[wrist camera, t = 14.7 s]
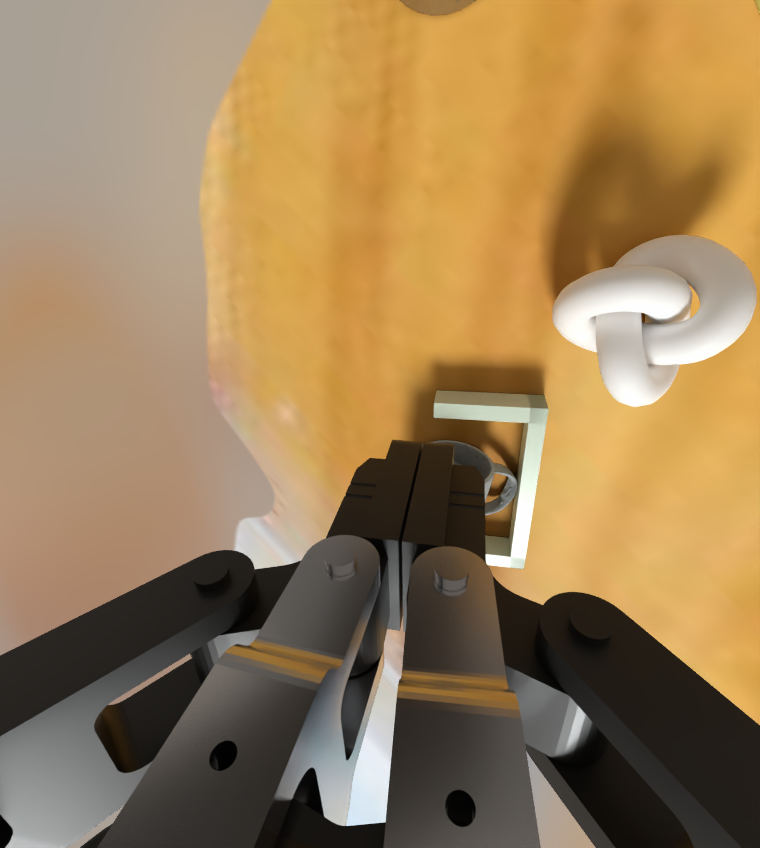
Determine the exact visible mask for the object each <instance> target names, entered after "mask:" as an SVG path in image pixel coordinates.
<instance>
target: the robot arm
mask: <svg viewBox="0 0 760 848" xmlns="http://www.w3.org/2000/svg"><path fill="white" fill-rule="evenodd" d="M401 1H402V2H403V3H404V4H405V5H406V6H407V7H409V8H411V9H413V10H415V11H417V12H418V13H422V14H427V15H431V16H436V15H448V14H451V13H454V12H457V11H459V10H462V9H463V8H465V7H467V6H468V5H470V4H471V3H473V2H475V1H476V0H401ZM453 464H454V444H445V443H430V442H424V445H423V443H422V442H417V441H402V440H392V442H391V445H390V448H389V451H388V454H387V456H386V459H376V458H370V459H368V460H367V461H366V462H365V463H363V464H362V465H361V466H360V467H358V468H357V469H356V472H355V474H354V476H353V478H352V481H351V485H349V487H348V490H347V492H346V496H344V499H343V501H342V503H341V505H340V508H339V510H338V512H337V514H336V517H335V519H334V521H333V523H332V526H331V528H330V530H329V532H328V535H327V537H326V539H323V540H321V541H319V542H318V543H316V544H315V545H313V546H312V547H311V548H310V549H309V550H308V551H307V553H306V554H305V556H304V557H303V559H302V560H301V561H299V562H296V563H293V564H289V565H284V566H277V567H270V568H262V569H254V566H253V563H252V561H251V559H250V558H249V557H248V556H246V555H245V554H243V553H240V552H237V551H232V550H223V551H216V552H211V553H208V554H205V555H203V556H200V557H198V558H196V559H194V560H192V561H190V562H188V563H186V564H184V565H182V566H180V567H178V568H176V569H174V570H172V571H170V572H168V573H166V574H164V575H161V576H160V577H158V578H155V579H153V580H152V581H150V582H148V583H145V584H144V585H141V586H139V587H137V588H136V589H133V590H131V591H129V592H127V593H125V594H123V595H121V596H119V597H117V598H115V599H113V600H111V601H110V602H107V603H105V604H103V605H101V606H99V607H97V608H95V609H93V610H91V611H89V612H87V613H85V614H83V615H81V616H79V617H77V618H75V619H73V620H71V621H69V622H67V623H65V624H63V625H61V626H59V627H57V628H55V629H53V630H51V631H49V632H47V633H45V634H43V635H41V636H39V637H37V638H35V639H33V640H31V641H29V642H27V643H25V644H23V645H21V646H19V647H17V648H15V649H13V650H11V651H9V652H7V653H5V654H3V655H1V656H0V848H67V847H68V846H70V845H71V844H73V843H74V842H75V841H77V840H78V839H79V838H81V837H82V836H83V835H85V834H86V833H87V832H89V831H90V830H91V829H93V828H94V827H96V826H97V825H98V824H99V823H101V822H102V821H104V820H105V819H106V818H108V817H109V816H110V815H112V814H113V813H114V812H116V811H117V810H118V809H120V808H121V807H122V806H124V807H123V809H122V810H121V812H120V813H119V815H118V816H117V818H116V820H115V821H114V823H113V824H111V825H110V826H108V827H107V828H105V829H104V830H102V831H101V832H100V833H98V834H97V835H96V836H94V837H93V838H92V839H90V840H89V841H88V842H87V843H85V844H84V845H83V846H81V847H80V848H541V847H540V841H539V834H538V827H537V820H536V814H535V807H534V801H533V794H532V788H531V782H530V775H529V767H528V761H527V754H526V751H527V752H528V754H529V756H530V757H531V759H532V760H533V761H534V763H535V764H536V766H537V767H538V768H539V770H540V771H541V772H542V774H543V775H544V777H545V778H546V779H547V781H548V782H549V784H550V785H551V786H552V788H553V789H554V791H555V792H556V793H557V795H558V796H559V797H560V799H561V800H562V802H563V803H564V804H565V806H566V807H567V809H568V810H569V811H570V813H571V814H572V815H573V817H574V818H575V819H576V821H577V822H578V824H579V825H580V826H581V828H582V829H583V830H584V832H585V833H586V835H587V836H588V838H589V839H590V840H591V842H592V843H593V844H594V846H595V847H596V848H760V725H758V724H757V723H756V722H755V721H754V720H752V719H751V718H750V717H749V716H748V715H746V714H745V713H744V712H743V711H742V710H740V709H739V708H738V707H737V706H736V705H734V704H733V703H732V702H731V701H729V700H728V699H727V698H726V697H725V696H723V695H722V694H721V693H720V692H719V691H717V690H716V689H715V688H714V687H713V686H711V685H710V684H709V683H708V682H707V681H705V680H704V679H703V678H702V677H701V676H699V675H698V674H697V673H696V672H695V671H693V670H692V669H691V668H690V667H688V666H687V665H686V664H685V663H684V662H682V661H681V660H680V659H679V658H678V657H676V656H675V655H674V654H673V653H672V652H670V651H669V650H668V649H667V648H666V647H664V646H663V645H662V644H661V643H660V642H658V641H657V640H656V639H655V638H654V637H652V636H651V635H650V634H649V633H648V632H646V631H645V630H644V629H643V628H641V627H640V626H639V625H638V624H637V623H635V622H634V621H633V620H632V619H631V618H629V617H628V616H627V615H626V614H625V613H623V612H622V611H621V610H620V609H618V608H617V607H616V606H614V605H612V604H611V603H609V602H607V601H605V600H603V599H601V598H599V597H596V596H593V595H590V594H585V593H579V592H566V593H561V594H558V595H555V596H553V597H551V598H550V599H548V600H547V601H546V602H545V603H544V605H541V604H538V603H536V602H533V601H531V600H528V599H526V598H523V597H521V596H519V595H516V594H514V593H512V592H511V591H509V590H507V589H506V588H505V587H503V586H502V585H501V584H500V583H499V582H498V581H497V580H496V579H495V578H494V577H493V575H492V572H491V570H490V568H489V566H488V565H487V563H486V542H485V479H484V478H483V477H482V475H481V474H480V472H479V471H478V469H477V468H476V467H475V466H465V465H453ZM402 617H403V631H404V632H405V643H404V655H403V667H402V677H401V679H400V680H399V685H398V692H397V702H396V713H395V724H394V735H393V747H392V758H391V769H390V780H389V792H388V803H387V814H386V823H375V824H365V825H355V826H346V821H347V816H348V811H349V805H350V797H351V787H352V781H353V775H354V771H355V766H356V763H357V759H358V756H359V752H360V749H361V745H362V742H363V738H364V735H365V731H366V728H367V724H368V721H369V717H370V714H371V710H372V707H373V703H374V700H375V696H376V693H377V689H378V686H379V682H380V679H381V675H382V672H383V668H384V641H385V636H386V631H387V629H392V630H399V631H400V628H401V622H402ZM188 654H190V655H191V657H192V659H190V660H189V661H187V662H185V663H184V664H182V665H180V666H179V667H177V668H175V669H174V670H172V671H171V672H169V673H168V674H166V675H164V676H163V677H161V678H160V679H158V680H156V681H155V682H153V683H151V684H150V685H148V686H147V687H145V688H143V689H142V690H140V691H139V692H137V693H135V694H134V695H132V696H131V697H129V698H127V699H126V700H124V701H122V702H120V703H117V704H114V705H108V704H109V703H111V702H112V701H113V700H115V699H116V698H118V697H120V696H121V695H123V694H125V693H126V692H128V691H129V690H131V689H132V688H134V687H136V686H138V685H139V684H141V683H142V682H144V681H146V680H147V679H149V678H151V677H152V676H154V675H155V674H157V673H159V672H160V671H162V670H163V669H165V668H167V667H168V666H170V665H172V664H173V663H175V662H177V661H178V660H180V659H181V658H183V657H185V656H186V655H188Z"/></svg>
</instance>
